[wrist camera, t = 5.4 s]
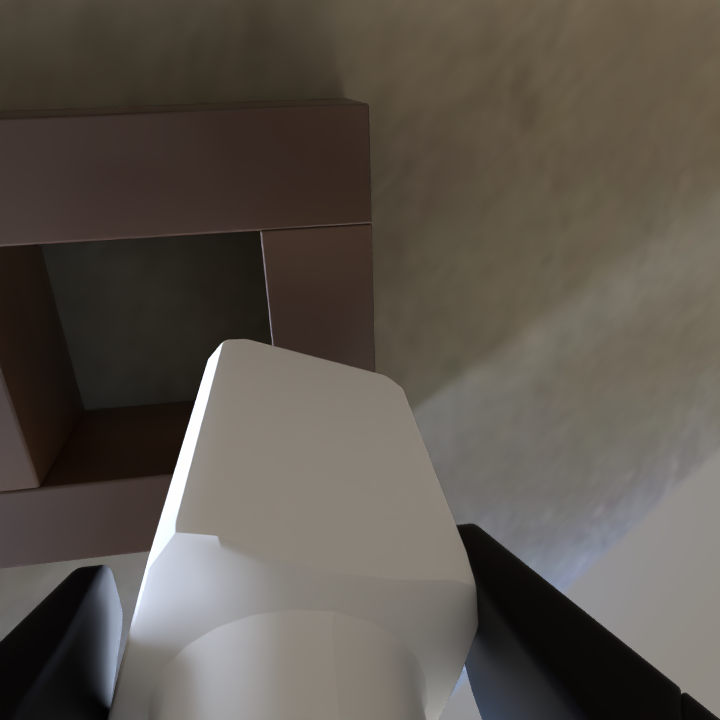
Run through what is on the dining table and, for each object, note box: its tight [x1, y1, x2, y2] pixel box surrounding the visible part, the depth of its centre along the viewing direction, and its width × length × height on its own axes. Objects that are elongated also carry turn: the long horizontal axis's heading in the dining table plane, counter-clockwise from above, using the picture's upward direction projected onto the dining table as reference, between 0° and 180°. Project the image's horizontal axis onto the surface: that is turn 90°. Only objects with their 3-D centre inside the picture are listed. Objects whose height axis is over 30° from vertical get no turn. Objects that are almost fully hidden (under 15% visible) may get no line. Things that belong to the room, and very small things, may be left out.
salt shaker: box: [108, 339, 478, 720], centre depth 8 cm, size 4×4×10 cm
